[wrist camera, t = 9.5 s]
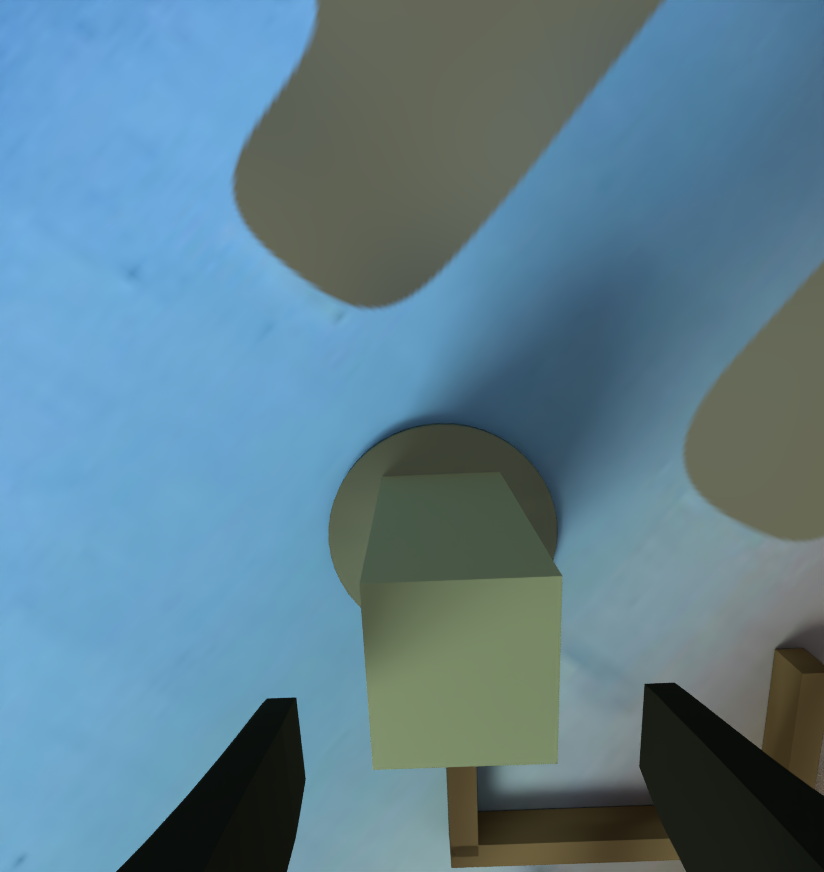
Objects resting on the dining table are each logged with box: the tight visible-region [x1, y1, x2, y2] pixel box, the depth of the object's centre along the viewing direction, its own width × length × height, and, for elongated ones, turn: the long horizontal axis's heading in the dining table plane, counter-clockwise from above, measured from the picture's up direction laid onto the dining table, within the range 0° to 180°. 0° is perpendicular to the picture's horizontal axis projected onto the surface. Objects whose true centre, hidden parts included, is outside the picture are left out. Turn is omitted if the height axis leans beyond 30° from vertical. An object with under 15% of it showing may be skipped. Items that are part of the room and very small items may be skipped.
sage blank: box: [359, 472, 562, 770], centre depth 15 cm, size 4×5×8 cm
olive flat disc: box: [329, 423, 557, 607], centre depth 19 cm, size 9×9×1 cm
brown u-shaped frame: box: [446, 648, 824, 868], centre depth 21 cm, size 15×9×2 cm, turn 93°
